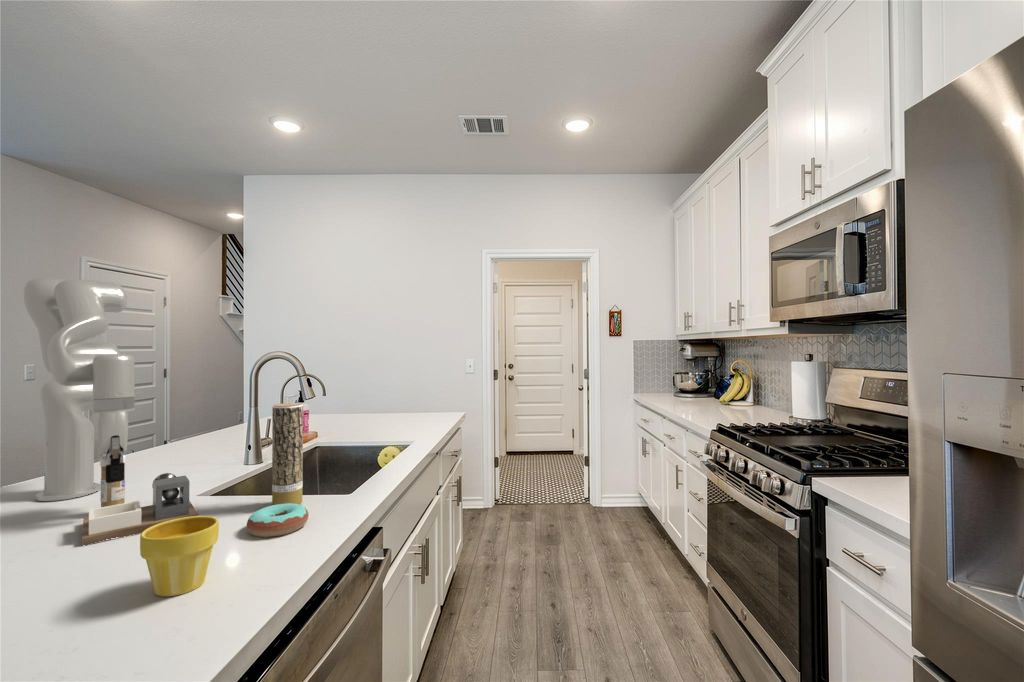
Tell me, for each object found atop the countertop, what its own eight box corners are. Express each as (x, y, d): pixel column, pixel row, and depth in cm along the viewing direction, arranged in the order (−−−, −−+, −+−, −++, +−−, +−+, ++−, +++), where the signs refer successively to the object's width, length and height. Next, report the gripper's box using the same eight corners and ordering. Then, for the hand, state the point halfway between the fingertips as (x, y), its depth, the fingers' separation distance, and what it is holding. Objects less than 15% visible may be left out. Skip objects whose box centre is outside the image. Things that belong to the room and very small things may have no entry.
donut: (318, 527, 98) (318, 509, 98) (258, 545, 89) (258, 525, 89) (295, 514, 106) (295, 497, 106) (238, 529, 97) (238, 511, 97)
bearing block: (152, 513, 102) (153, 480, 102) (185, 507, 106) (185, 475, 106) (155, 521, 98) (155, 486, 98) (189, 513, 102) (189, 480, 102)
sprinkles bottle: (123, 514, 106) (124, 456, 106) (97, 518, 104) (98, 459, 104) (126, 508, 110) (127, 453, 110) (101, 512, 107) (102, 455, 108)
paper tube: (308, 501, 114) (308, 403, 114) (287, 511, 108) (287, 406, 108) (287, 499, 116) (288, 402, 117) (265, 507, 110) (266, 405, 110)
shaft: (152, 496, 108) (152, 475, 108) (177, 491, 112) (178, 471, 112) (157, 507, 100) (157, 485, 100) (184, 502, 104) (184, 480, 104)
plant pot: (188, 566, 80) (189, 511, 80) (232, 575, 77) (233, 518, 77) (123, 597, 70) (124, 534, 71) (170, 609, 67) (171, 543, 67)
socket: (88, 523, 96) (89, 509, 97) (138, 513, 102) (138, 500, 102) (88, 535, 90) (88, 520, 91) (141, 524, 96) (141, 510, 96)
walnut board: (83, 524, 100) (83, 517, 100) (187, 504, 113) (187, 498, 113) (82, 546, 89) (82, 538, 89) (198, 520, 102) (198, 514, 102)
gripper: (92, 405, 111) (92, 475, 110) (92, 409, 98) (92, 488, 98) (132, 402, 116) (132, 469, 115) (137, 406, 103) (137, 481, 103)
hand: (114, 477), depth 107 cm, fingers open, 9 cm apart
